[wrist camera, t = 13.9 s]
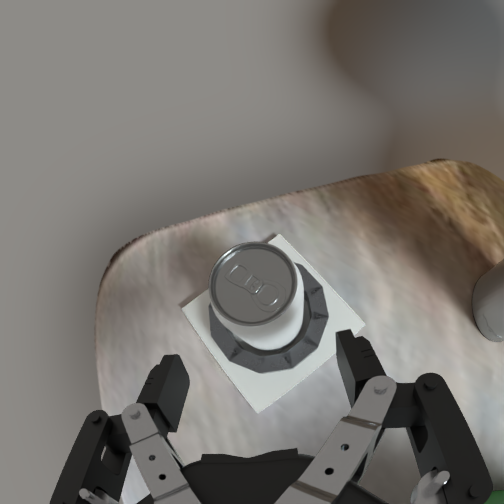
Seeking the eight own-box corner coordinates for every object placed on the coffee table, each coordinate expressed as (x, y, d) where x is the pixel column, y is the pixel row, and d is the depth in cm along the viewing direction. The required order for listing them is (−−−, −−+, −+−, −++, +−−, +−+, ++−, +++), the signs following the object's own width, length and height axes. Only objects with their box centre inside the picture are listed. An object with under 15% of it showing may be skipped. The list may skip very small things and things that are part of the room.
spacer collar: (278, 250, 31) (275, 237, 29) (346, 323, 27) (351, 317, 24) (198, 311, 30) (188, 304, 27) (260, 393, 25) (255, 395, 22)
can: (276, 364, 26) (260, 355, 15) (227, 326, 28) (182, 292, 18) (315, 313, 28) (324, 268, 17) (265, 279, 30) (244, 219, 19)
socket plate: (280, 237, 33) (279, 233, 32) (363, 326, 27) (366, 324, 26) (184, 311, 31) (181, 308, 30) (259, 412, 25) (257, 413, 24)
